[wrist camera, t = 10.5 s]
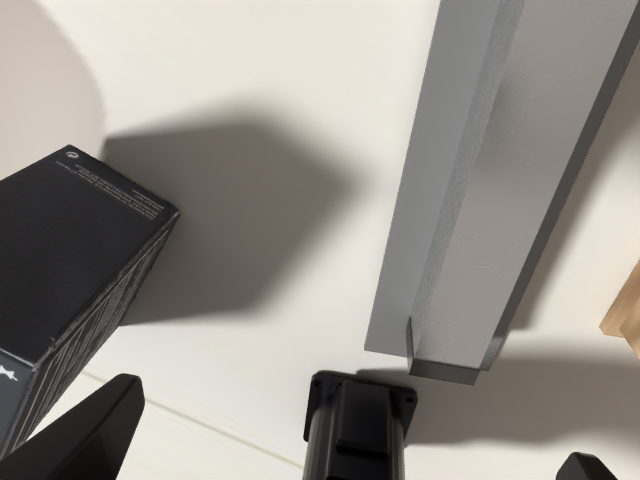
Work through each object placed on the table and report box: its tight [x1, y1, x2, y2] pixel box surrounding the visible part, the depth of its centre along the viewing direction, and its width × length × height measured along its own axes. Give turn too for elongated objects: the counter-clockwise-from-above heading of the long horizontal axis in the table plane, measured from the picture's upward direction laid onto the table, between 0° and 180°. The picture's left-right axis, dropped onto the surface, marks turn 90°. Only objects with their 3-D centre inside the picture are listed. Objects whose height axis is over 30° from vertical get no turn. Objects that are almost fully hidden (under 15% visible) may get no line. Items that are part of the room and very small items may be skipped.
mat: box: [364, 0, 640, 371], centre depth 18 cm, size 26×7×1 cm, turn 174°
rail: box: [406, 0, 638, 386], centre depth 16 cm, size 22×3×3 cm, turn 174°
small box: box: [0, 145, 180, 460], centre depth 19 cm, size 11×6×10 cm, turn 146°
